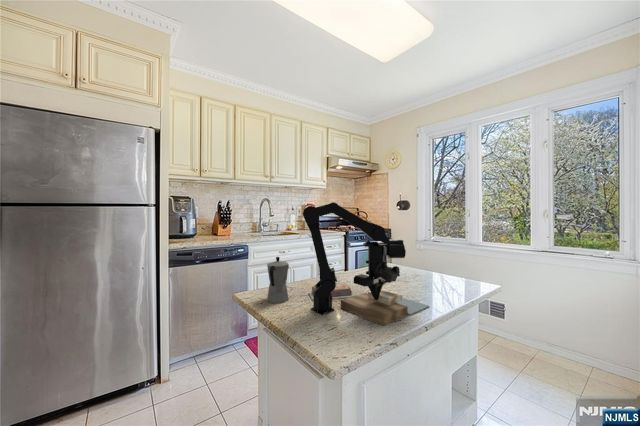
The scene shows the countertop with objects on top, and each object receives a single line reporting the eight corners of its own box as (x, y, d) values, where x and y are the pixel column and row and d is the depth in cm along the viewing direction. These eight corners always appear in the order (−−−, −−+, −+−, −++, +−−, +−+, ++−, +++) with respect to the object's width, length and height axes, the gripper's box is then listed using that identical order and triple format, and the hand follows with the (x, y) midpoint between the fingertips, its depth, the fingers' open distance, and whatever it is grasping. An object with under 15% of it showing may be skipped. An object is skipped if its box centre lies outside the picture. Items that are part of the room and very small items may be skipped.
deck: (383, 325, 85) (383, 316, 85) (340, 307, 101) (340, 300, 100) (407, 314, 94) (407, 306, 94) (365, 299, 109) (365, 292, 109)
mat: (410, 315, 93) (410, 314, 93) (363, 299, 110) (363, 298, 110) (429, 307, 101) (429, 305, 101) (383, 293, 118) (383, 291, 118)
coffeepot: (272, 294, 117) (272, 254, 117) (292, 295, 116) (292, 254, 115) (259, 306, 102) (259, 260, 102) (282, 308, 100) (282, 261, 100)
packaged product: (346, 281, 121) (353, 287, 112) (346, 292, 121) (353, 299, 112) (308, 283, 118) (312, 290, 108) (308, 294, 118) (312, 302, 108)
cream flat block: (389, 305, 95) (389, 298, 95) (367, 298, 103) (368, 291, 103) (402, 300, 100) (402, 294, 100) (380, 294, 108) (381, 288, 108)
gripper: (376, 265, 86) (376, 312, 86) (409, 258, 97) (409, 300, 98) (352, 260, 94) (352, 303, 95) (384, 254, 106) (385, 292, 106)
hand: (376, 299), depth 98 cm, fingers closed
